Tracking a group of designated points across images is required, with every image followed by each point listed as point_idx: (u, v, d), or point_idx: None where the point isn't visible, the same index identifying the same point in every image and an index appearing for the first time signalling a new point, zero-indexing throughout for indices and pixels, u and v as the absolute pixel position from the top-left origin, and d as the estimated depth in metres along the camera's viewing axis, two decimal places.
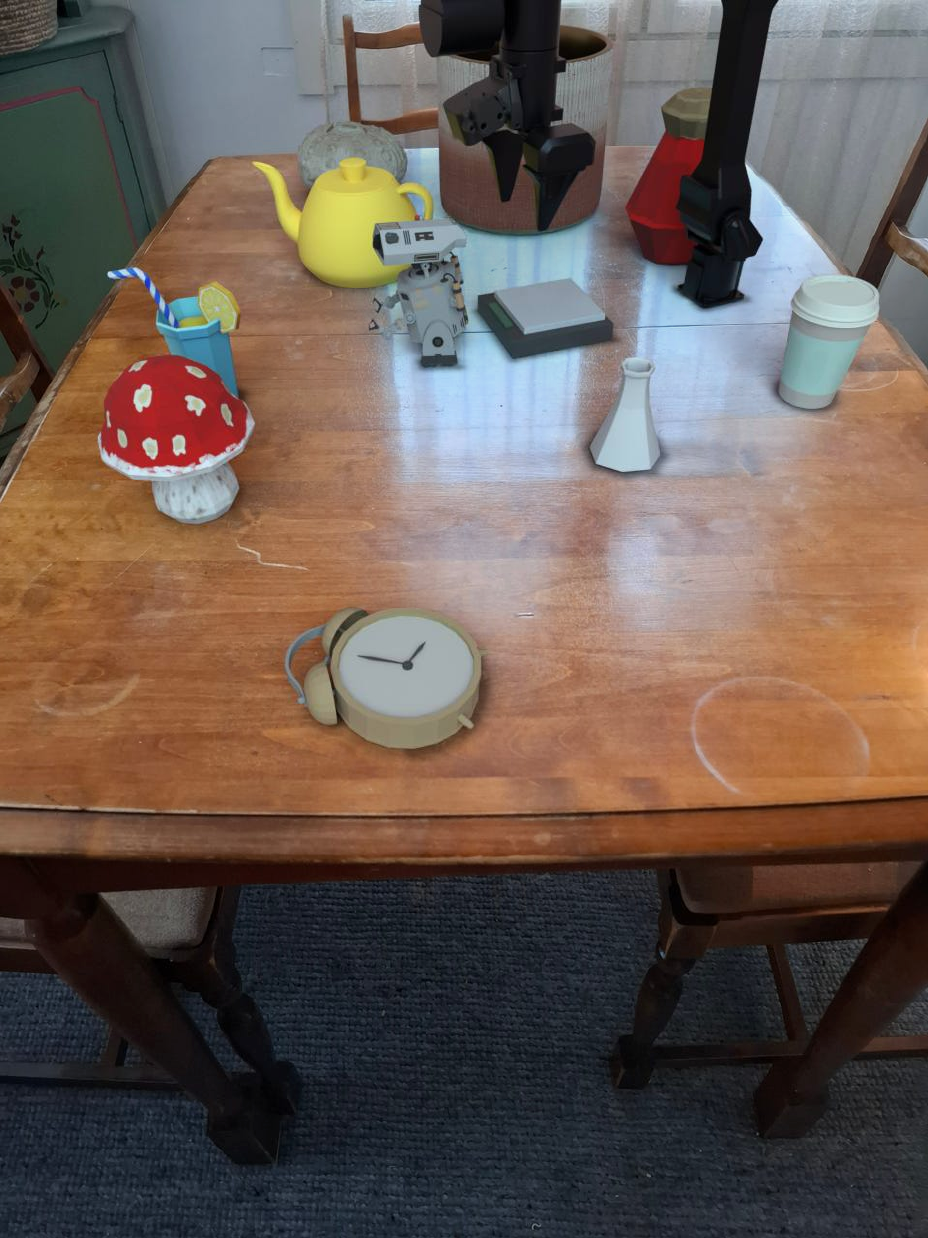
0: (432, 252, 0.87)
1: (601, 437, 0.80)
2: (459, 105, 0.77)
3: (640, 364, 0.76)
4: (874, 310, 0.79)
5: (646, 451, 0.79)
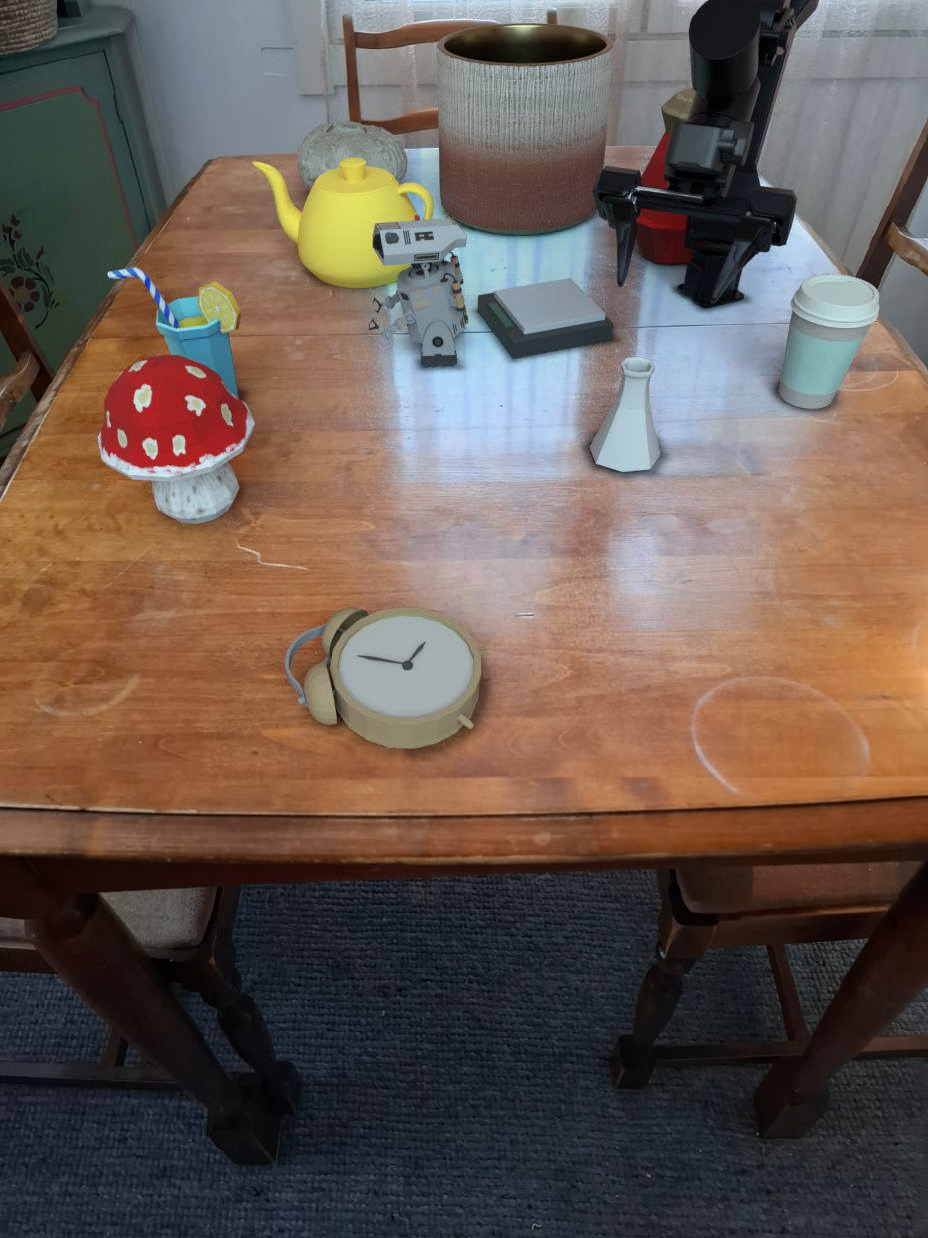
0: (432, 252, 0.87)
1: (601, 437, 0.80)
2: None
3: (640, 364, 0.76)
4: (874, 310, 0.79)
5: (646, 451, 0.79)
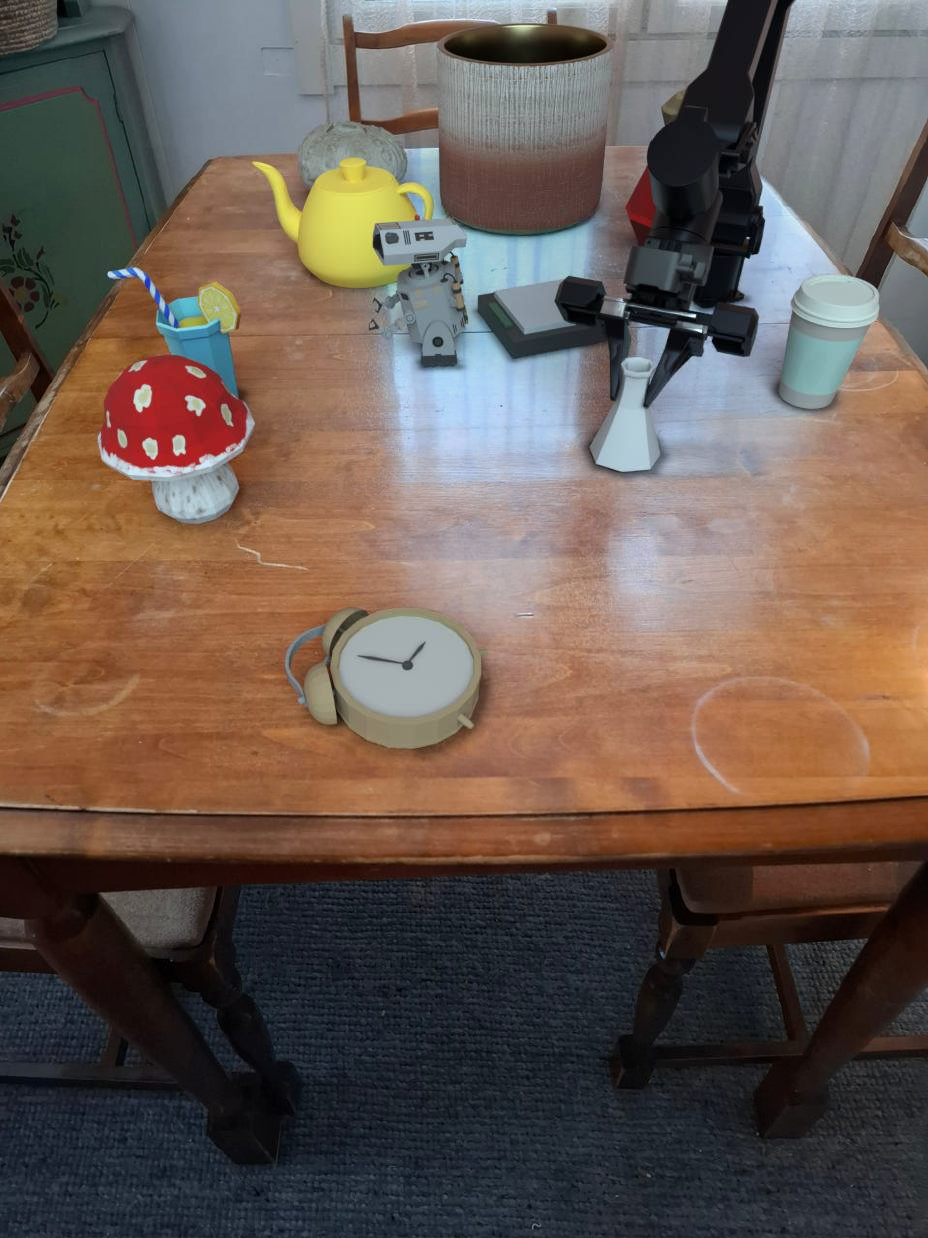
0: (432, 252, 0.87)
1: (601, 437, 0.80)
2: None
3: (640, 364, 0.76)
4: (874, 310, 0.79)
5: (647, 451, 0.79)
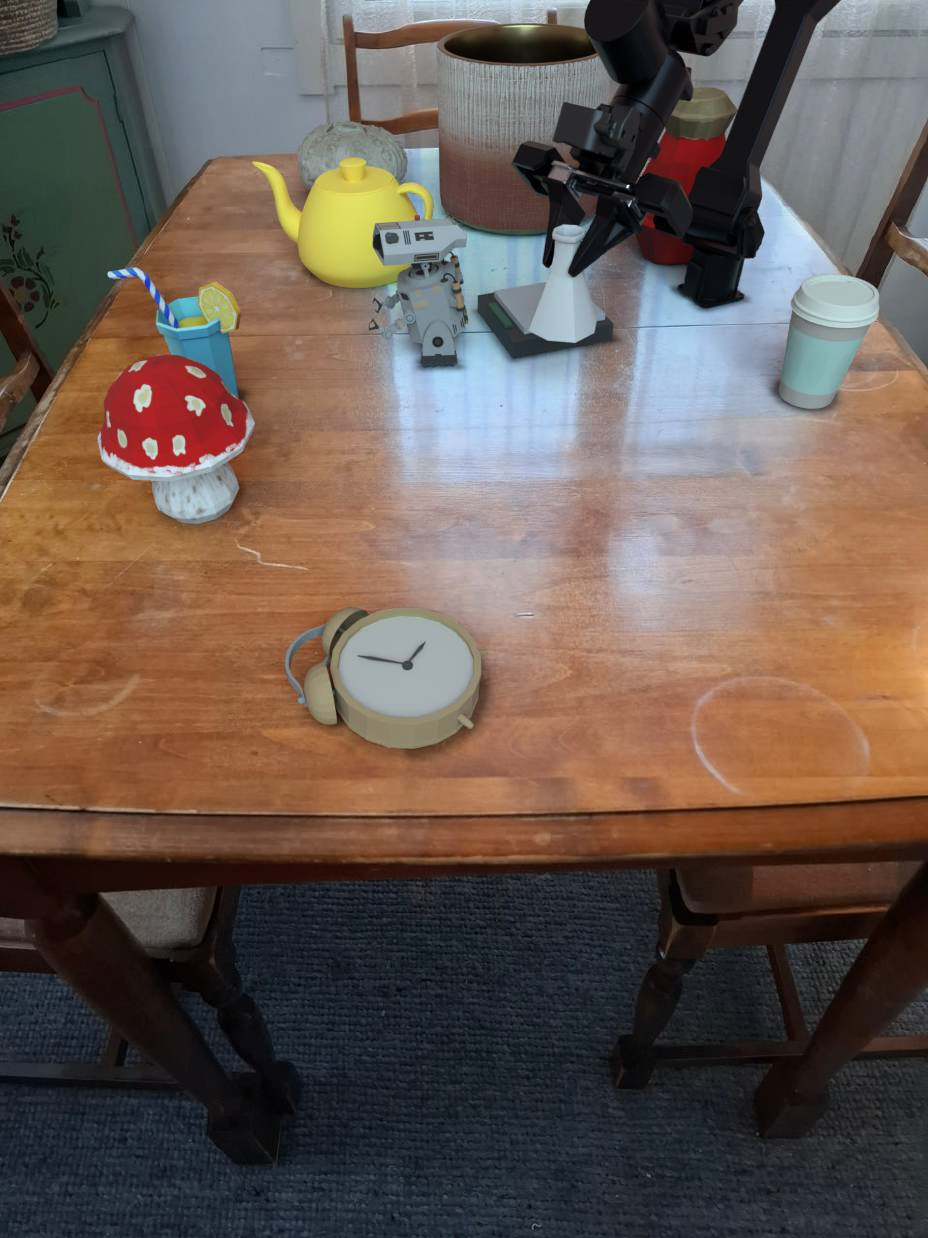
0: (432, 252, 0.87)
1: (538, 305, 0.83)
2: None
3: (576, 233, 0.79)
4: (874, 310, 0.79)
5: (573, 322, 0.81)
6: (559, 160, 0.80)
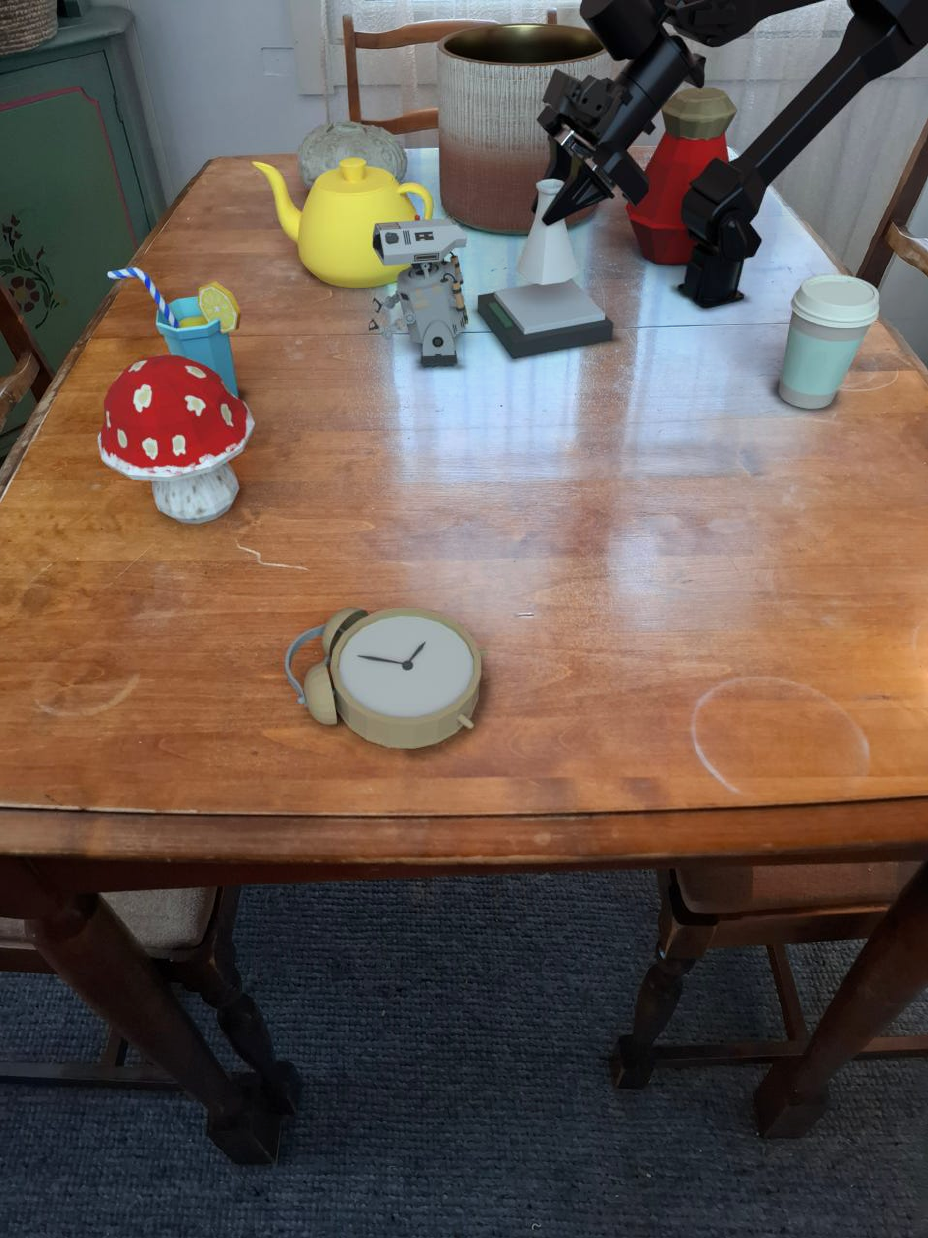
0: (432, 252, 0.87)
1: None
2: (570, 76, 0.81)
3: (561, 187, 0.90)
4: (874, 310, 0.79)
5: (542, 266, 0.93)
6: (574, 124, 0.91)
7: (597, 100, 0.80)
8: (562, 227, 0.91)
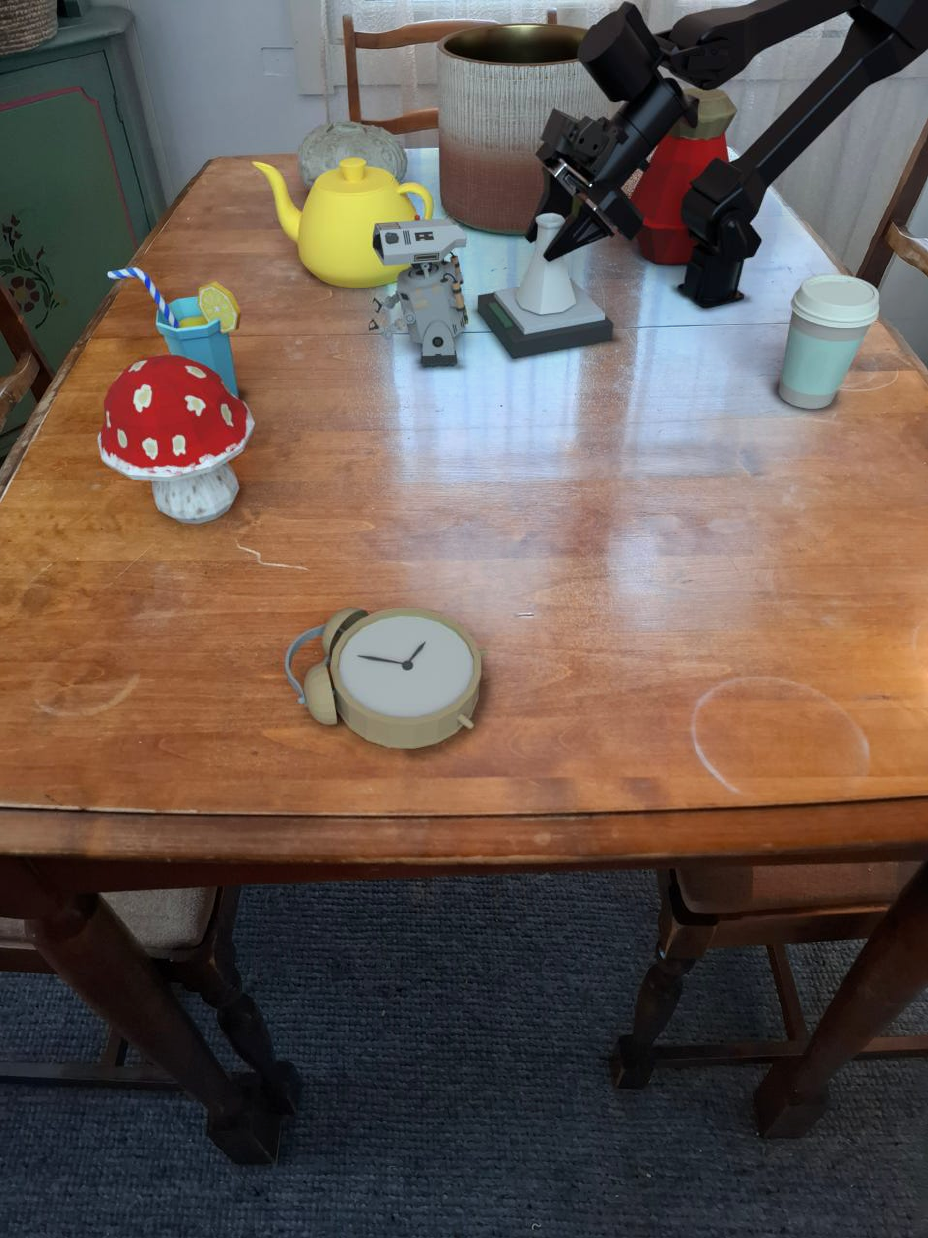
0: (432, 252, 0.87)
1: None
2: (568, 116, 0.84)
3: None
4: (874, 310, 0.79)
5: (541, 297, 0.96)
6: (572, 159, 0.93)
7: (593, 140, 0.83)
8: (560, 259, 0.94)
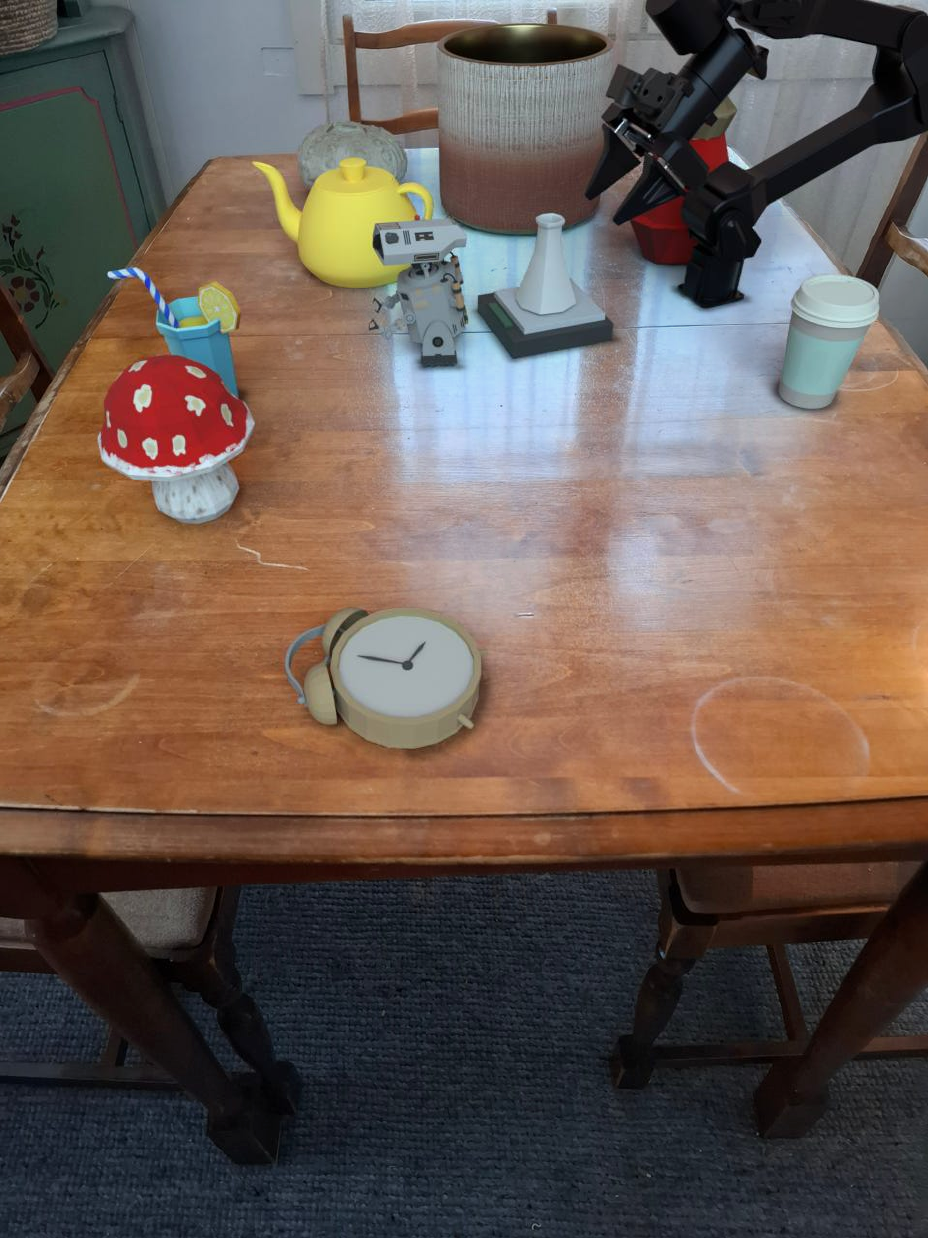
0: (432, 252, 0.87)
1: None
2: None
3: None
4: (874, 310, 0.79)
5: (541, 297, 0.96)
6: (638, 120, 0.93)
7: (658, 91, 0.83)
8: (560, 259, 0.94)
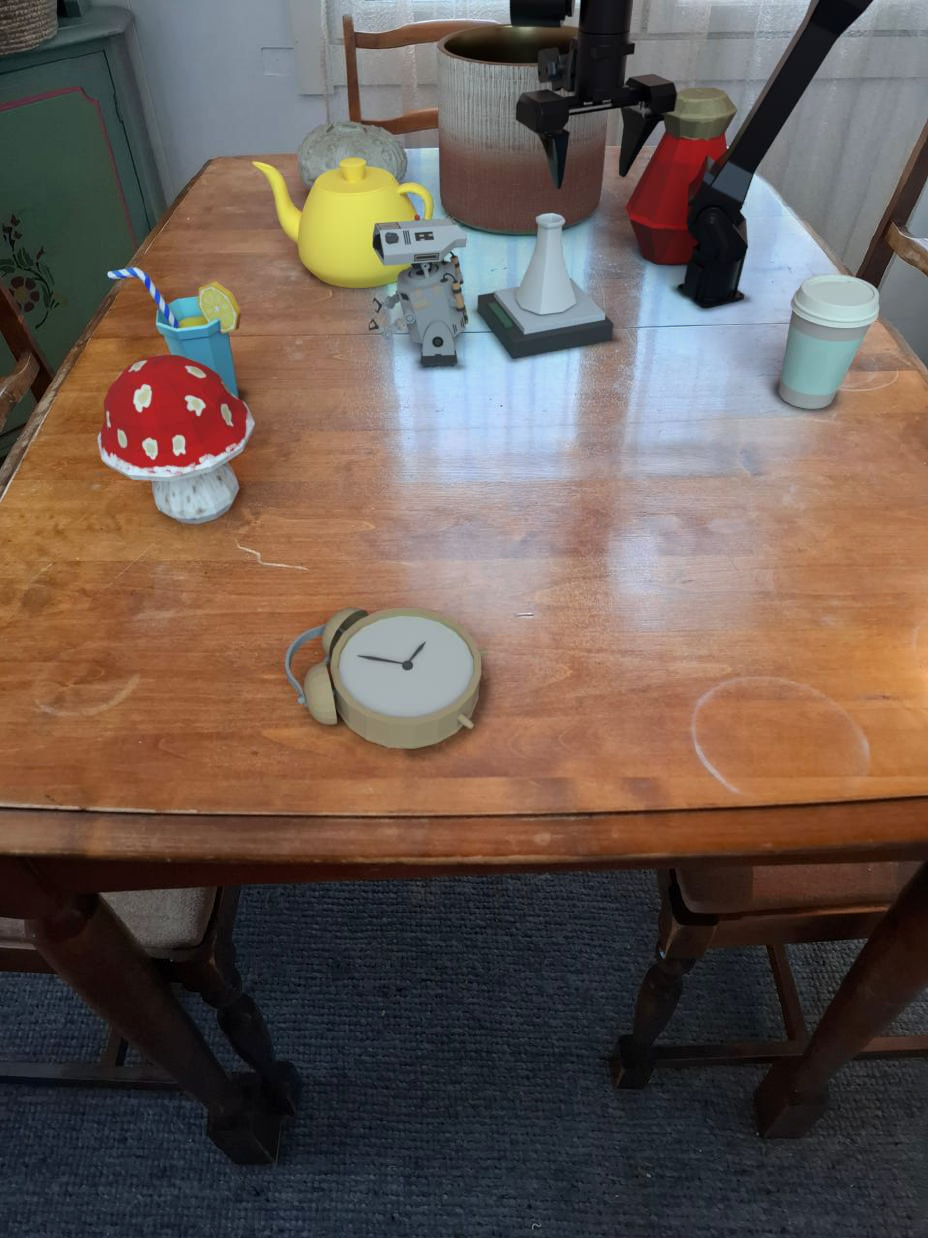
0: (432, 252, 0.87)
1: None
2: None
3: None
4: (874, 310, 0.79)
5: (541, 297, 0.96)
6: (635, 84, 0.94)
7: (543, 66, 0.93)
8: (560, 259, 0.94)
